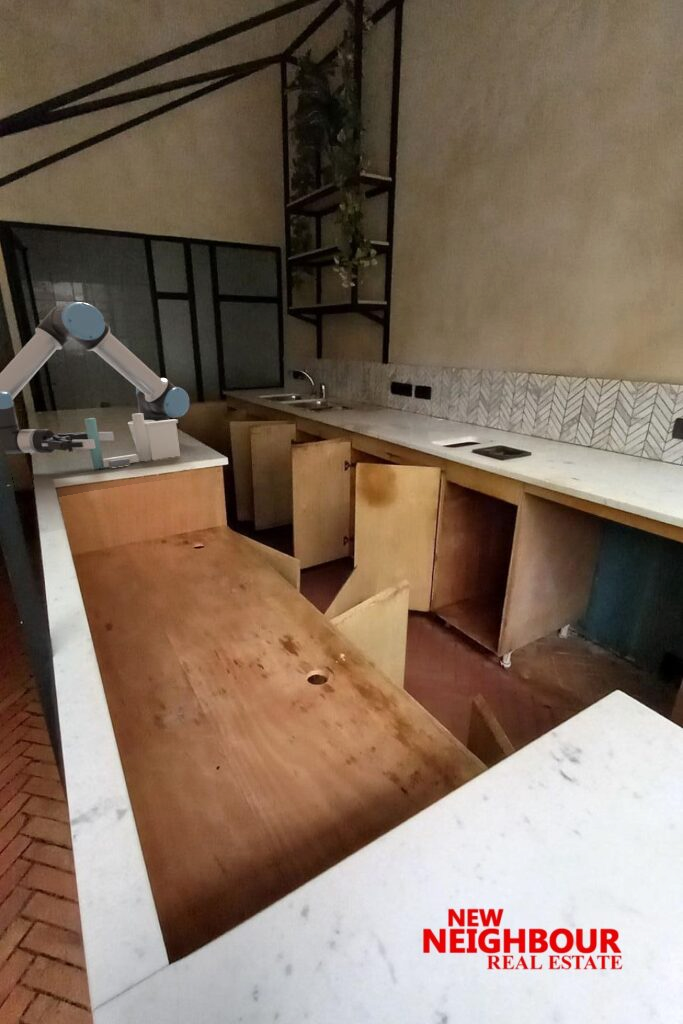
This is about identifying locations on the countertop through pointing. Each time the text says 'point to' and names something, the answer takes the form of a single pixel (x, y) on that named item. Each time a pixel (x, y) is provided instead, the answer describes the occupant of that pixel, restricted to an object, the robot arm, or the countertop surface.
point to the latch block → (119, 462)
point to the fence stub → (162, 439)
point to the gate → (101, 463)
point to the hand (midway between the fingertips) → (104, 439)
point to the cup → (134, 432)
